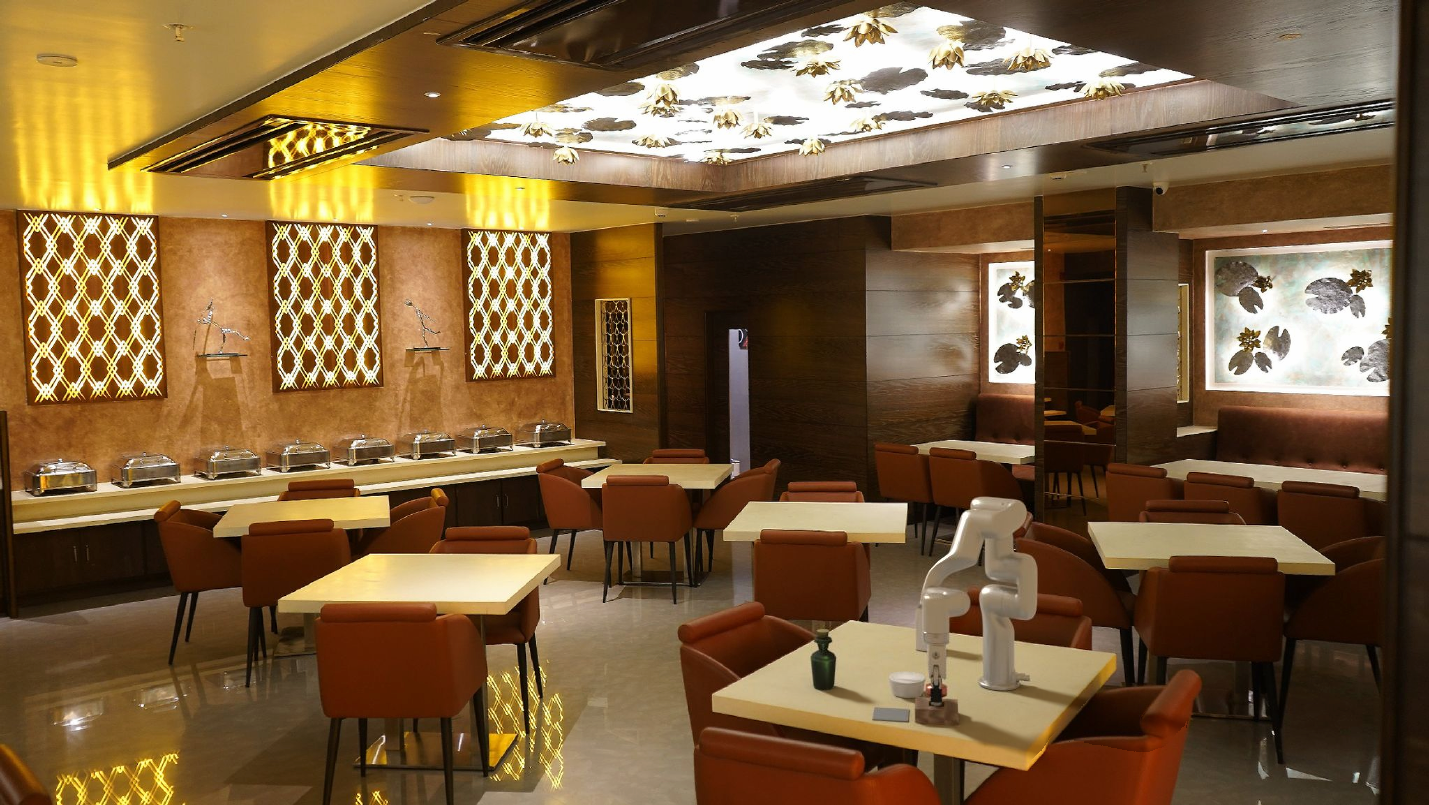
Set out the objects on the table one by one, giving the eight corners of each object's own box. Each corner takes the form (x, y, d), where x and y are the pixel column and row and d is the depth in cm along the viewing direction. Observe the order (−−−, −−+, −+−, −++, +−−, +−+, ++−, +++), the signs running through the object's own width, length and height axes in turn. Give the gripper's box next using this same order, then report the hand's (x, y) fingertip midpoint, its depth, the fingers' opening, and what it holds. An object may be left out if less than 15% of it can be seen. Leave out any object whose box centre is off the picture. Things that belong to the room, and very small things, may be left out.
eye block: (957, 712, 298) (957, 699, 298) (958, 725, 289) (958, 711, 289) (915, 710, 301) (915, 697, 301) (914, 722, 291) (914, 708, 291)
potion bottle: (816, 681, 329) (816, 626, 329) (840, 685, 326) (839, 629, 325) (806, 689, 322) (805, 632, 321) (830, 692, 318) (830, 635, 318)
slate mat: (908, 710, 302) (908, 709, 301) (907, 722, 292) (907, 721, 292) (874, 708, 304) (874, 707, 304) (872, 720, 294) (872, 719, 294)
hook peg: (947, 714, 297) (947, 683, 297) (947, 722, 291) (947, 690, 291) (926, 713, 298) (925, 682, 298) (925, 720, 293) (925, 689, 292)
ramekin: (898, 701, 309) (898, 684, 309) (882, 690, 320) (882, 673, 320) (932, 697, 313) (932, 680, 312) (915, 686, 323) (914, 669, 323)
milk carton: (942, 648, 364) (941, 595, 363) (935, 653, 358) (934, 599, 357) (922, 645, 368) (922, 593, 367) (915, 650, 362) (915, 597, 361)
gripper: (949, 646, 285) (950, 708, 285) (949, 629, 301) (949, 688, 302) (922, 644, 286) (922, 706, 287) (923, 628, 303) (923, 686, 304)
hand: (936, 696), depth 295 cm, fingers open, 8 cm apart
